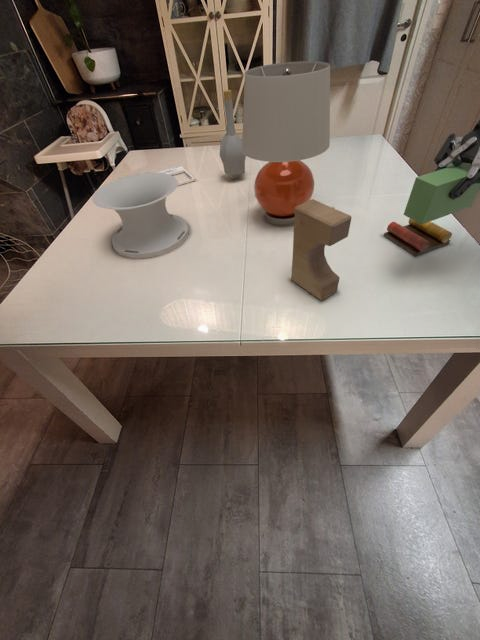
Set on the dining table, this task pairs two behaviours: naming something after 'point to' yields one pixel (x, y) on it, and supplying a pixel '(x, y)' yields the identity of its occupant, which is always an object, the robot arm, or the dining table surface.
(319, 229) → the decorative block
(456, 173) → the bar
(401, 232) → the rod rack
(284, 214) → the lamp
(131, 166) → the dining table surface
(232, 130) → the bottle
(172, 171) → the photo frame
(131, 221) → the vase
